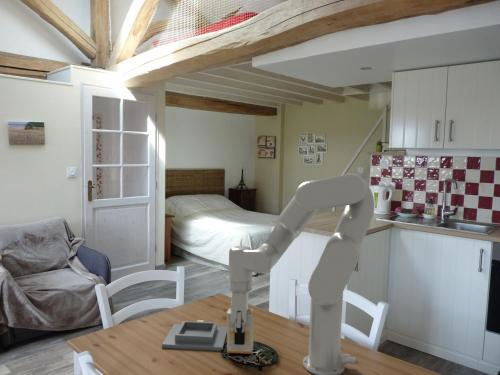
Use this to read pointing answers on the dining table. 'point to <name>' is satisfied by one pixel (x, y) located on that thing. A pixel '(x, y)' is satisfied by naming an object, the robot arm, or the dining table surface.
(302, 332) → the dining table surface
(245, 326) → the supplement box
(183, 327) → the cradle board
